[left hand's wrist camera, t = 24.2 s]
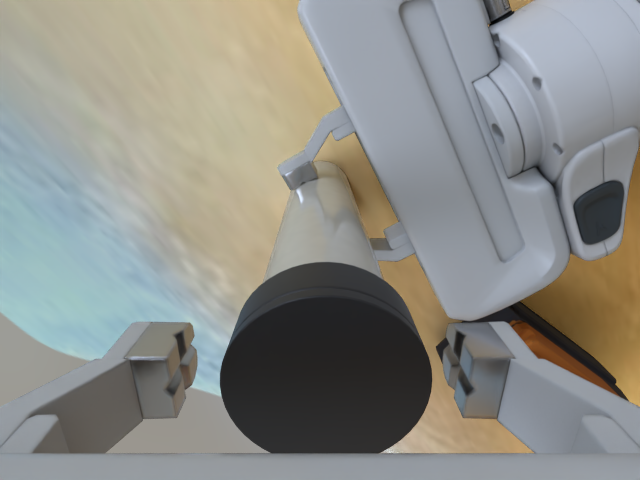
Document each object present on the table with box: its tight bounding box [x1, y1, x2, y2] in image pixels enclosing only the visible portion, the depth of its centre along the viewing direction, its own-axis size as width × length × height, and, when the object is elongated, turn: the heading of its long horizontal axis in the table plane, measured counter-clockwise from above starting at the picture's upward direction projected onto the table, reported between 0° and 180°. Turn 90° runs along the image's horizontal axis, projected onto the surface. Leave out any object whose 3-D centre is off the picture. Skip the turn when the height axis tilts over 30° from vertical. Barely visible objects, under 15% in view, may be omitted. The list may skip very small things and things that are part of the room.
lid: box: [220, 262, 432, 453], centre depth 9 cm, size 5×5×2 cm
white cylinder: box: [262, 161, 385, 284], centre depth 18 cm, size 4×4×19 cm
